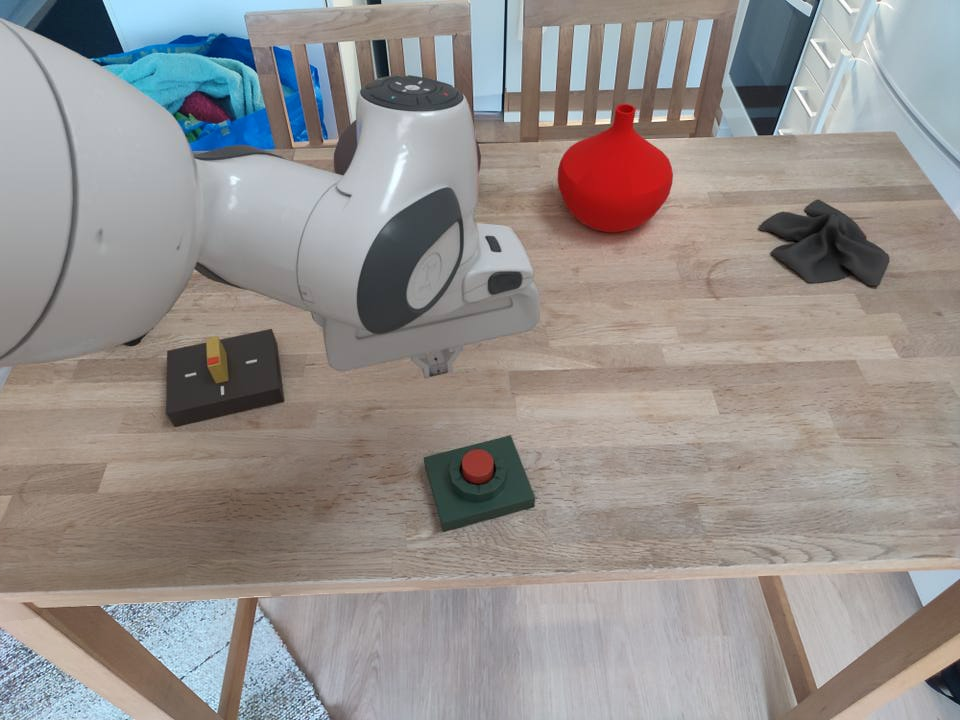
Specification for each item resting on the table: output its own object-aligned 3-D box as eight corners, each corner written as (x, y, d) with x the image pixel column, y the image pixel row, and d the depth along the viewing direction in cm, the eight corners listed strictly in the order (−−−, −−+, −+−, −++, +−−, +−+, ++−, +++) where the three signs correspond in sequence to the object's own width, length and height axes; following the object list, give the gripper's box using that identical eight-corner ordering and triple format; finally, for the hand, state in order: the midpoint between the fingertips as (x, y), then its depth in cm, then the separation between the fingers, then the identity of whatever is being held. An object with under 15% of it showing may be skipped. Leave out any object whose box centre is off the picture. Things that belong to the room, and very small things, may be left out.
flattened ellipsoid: (461, 148, 126) (458, 71, 115) (498, 226, 110) (499, 146, 99) (332, 169, 122) (316, 91, 111) (352, 253, 106) (336, 173, 95)
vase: (571, 174, 120) (582, 71, 106) (672, 195, 116) (698, 90, 101) (540, 234, 109) (548, 128, 94) (650, 259, 105) (676, 152, 90)
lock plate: (174, 427, 84) (165, 412, 82) (175, 364, 91) (166, 349, 89) (284, 401, 87) (278, 387, 85) (277, 342, 94) (271, 327, 91)
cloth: (908, 288, 100) (928, 257, 95) (785, 290, 100) (800, 259, 95) (851, 199, 114) (867, 168, 109) (744, 201, 114) (755, 170, 109)
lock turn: (214, 356, 88) (205, 337, 85) (226, 353, 89) (217, 334, 86) (216, 384, 85) (206, 365, 82) (228, 381, 85) (219, 362, 83)
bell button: (467, 487, 74) (466, 479, 73) (458, 461, 76) (458, 453, 75) (497, 479, 75) (497, 471, 74) (488, 453, 77) (488, 445, 76)
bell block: (443, 532, 75) (441, 515, 72) (424, 466, 80) (422, 448, 77) (534, 507, 77) (536, 489, 74) (510, 444, 82) (511, 426, 79)
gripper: (309, 317, 52) (338, 418, 63) (551, 268, 56) (541, 372, 66) (300, 266, 56) (329, 369, 67) (527, 223, 60) (521, 328, 70)
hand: (436, 370), depth 66 cm, fingers closed
